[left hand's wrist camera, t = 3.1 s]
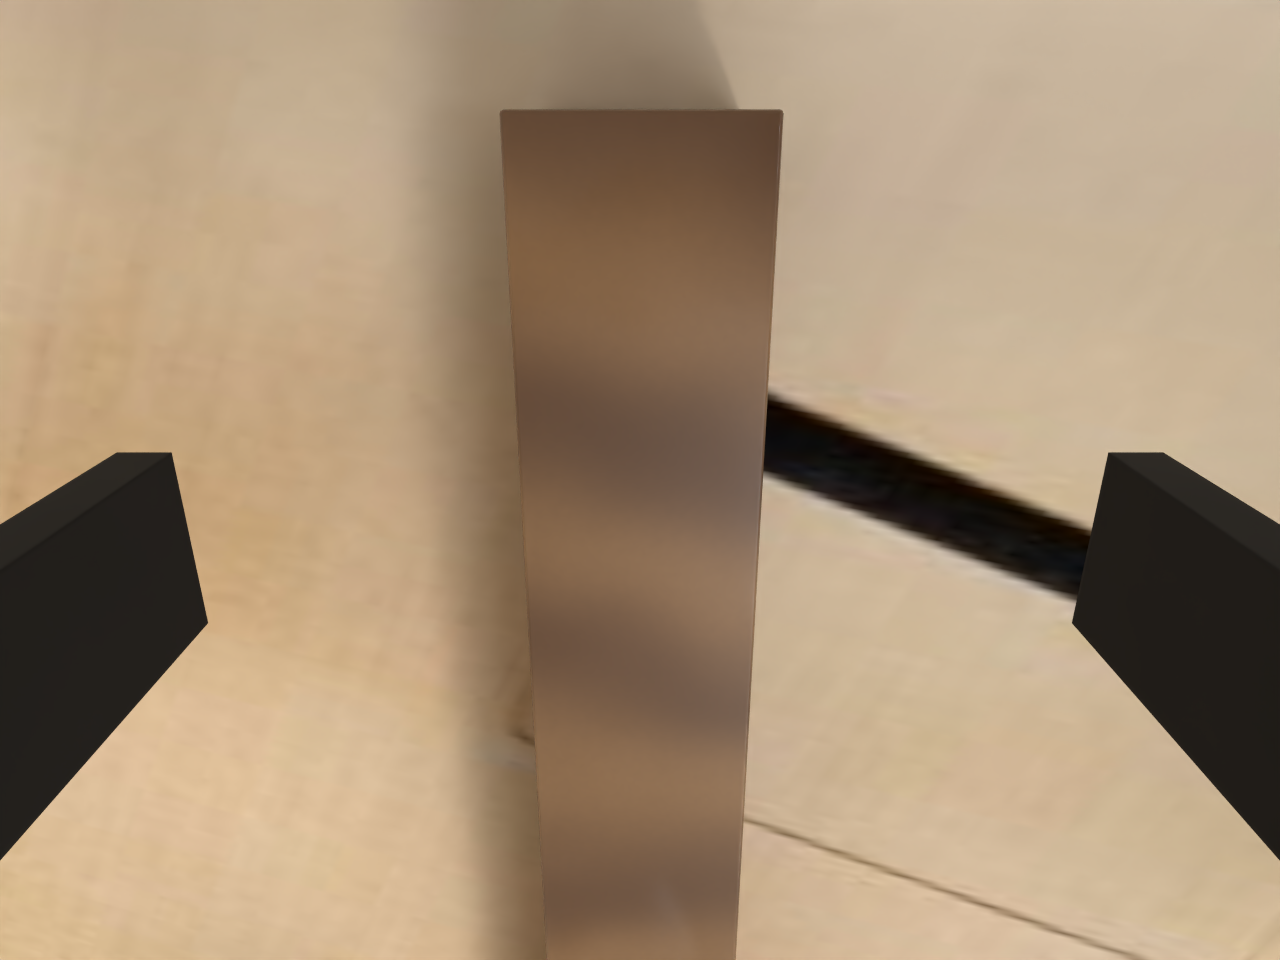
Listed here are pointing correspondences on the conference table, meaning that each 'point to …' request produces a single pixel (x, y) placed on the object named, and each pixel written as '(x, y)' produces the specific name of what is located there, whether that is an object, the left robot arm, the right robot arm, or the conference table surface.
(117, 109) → the conference table surface
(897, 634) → the conference table surface
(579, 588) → the beam
